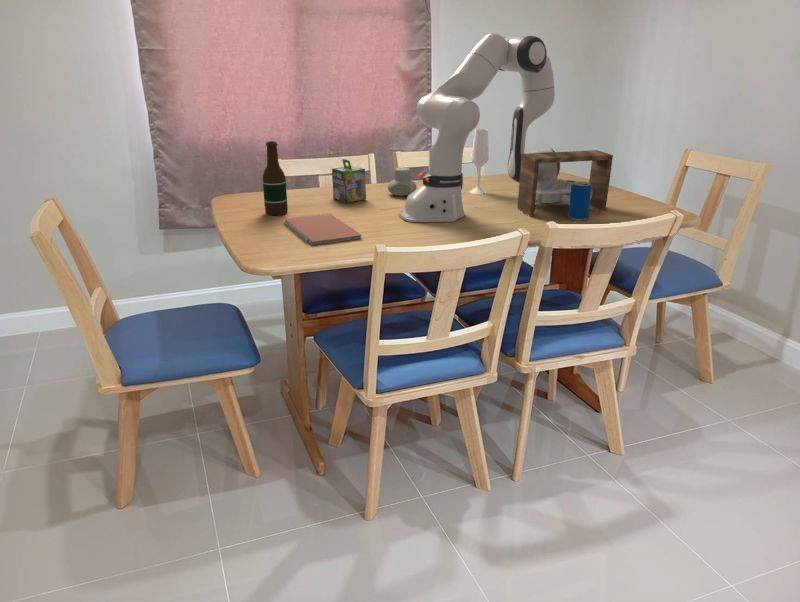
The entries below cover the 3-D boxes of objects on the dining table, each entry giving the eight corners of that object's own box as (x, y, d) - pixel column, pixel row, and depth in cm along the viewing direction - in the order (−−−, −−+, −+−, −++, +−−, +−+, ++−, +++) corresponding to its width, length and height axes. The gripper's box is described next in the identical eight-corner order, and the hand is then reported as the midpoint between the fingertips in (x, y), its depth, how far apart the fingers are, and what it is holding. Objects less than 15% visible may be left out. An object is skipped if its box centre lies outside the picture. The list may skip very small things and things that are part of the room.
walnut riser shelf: (529, 216, 213) (535, 158, 205) (517, 209, 222) (521, 153, 214) (605, 211, 220) (613, 155, 212) (590, 204, 229) (596, 150, 221)
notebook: (281, 224, 205) (281, 218, 204) (330, 218, 212) (329, 212, 211) (308, 247, 183) (308, 241, 182) (362, 240, 189) (361, 234, 189)
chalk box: (366, 200, 233) (365, 159, 227) (345, 203, 228) (344, 162, 222) (352, 195, 240) (352, 156, 234) (332, 198, 235) (330, 158, 229)
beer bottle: (279, 208, 220) (274, 139, 211) (292, 213, 215) (288, 142, 206) (260, 213, 215) (254, 141, 206) (273, 217, 210) (268, 144, 201)
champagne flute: (482, 189, 249) (485, 127, 240) (489, 193, 244) (493, 129, 234) (466, 190, 248) (469, 128, 238) (473, 194, 242) (477, 130, 232)
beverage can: (587, 221, 208) (592, 186, 203) (567, 220, 209) (571, 184, 204) (587, 216, 213) (591, 181, 209) (567, 215, 215) (571, 180, 210)
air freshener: (386, 196, 238) (386, 170, 234) (389, 191, 245) (389, 166, 241) (415, 198, 236) (415, 171, 232) (417, 192, 244) (417, 167, 240)
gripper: (528, 183, 220) (547, 192, 208) (580, 180, 225) (601, 189, 213) (527, 201, 223) (545, 211, 211) (578, 197, 228) (599, 207, 216)
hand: (574, 200), depth 212 cm, fingers closed, pressing on beverage can
